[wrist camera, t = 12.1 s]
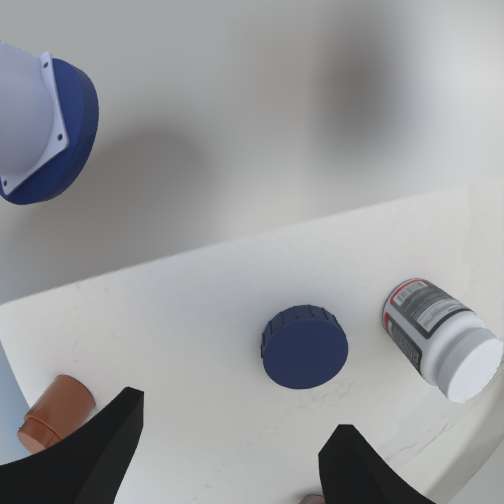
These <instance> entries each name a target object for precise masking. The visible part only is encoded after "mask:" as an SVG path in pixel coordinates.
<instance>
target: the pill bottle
mask: <svg viewBox="0 0 504 504" xmlns="http://www.w3.org/2000/svg"><path fill="white" fill-rule="evenodd" d="M383 324H384V328H385V330H386V332H387V333H388V334H389V336H390V337H391V338H392V339H393V341H394V342H395V343H396V344H397V346H398V347H399V348H400V349H401V351H402V352H403V353H404V354H405V356H406V357H407V358H408V359H409V361H410V362H411V363H412V365H413V366H414V367H415V368H416V370H417V371H418V372H419V374H420V375H421V376H422V377H423V379H424V380H425V381H426V382H428V383H429V384H431V385H434V386H438V388H439V389H440V391H441V392H442V393H443V394H444V395H445V396H446V398H447V399H448V400H449V401H450V402H452V403H461V402H464V401H466V400H468V399H470V398H472V397H473V396H475V395H476V394H477V393H478V392H480V391H481V390H482V389H483V388H484V387H485V386H486V385H487V384H488V382H489V381H490V380H491V378H492V377H493V376H494V374H495V372H496V371H497V369H498V367H499V365H500V362H501V359H502V355H503V344H502V342H501V340H500V339H498V338H497V337H496V336H495V335H494V334H493V333H492V332H491V331H490V330H488V329H486V328H485V325H484V322H483V320H482V319H481V318H480V317H479V316H478V315H477V314H476V313H475V312H474V311H472V310H471V309H469V308H468V307H466V306H465V305H463V304H462V303H460V302H459V301H458V300H456V299H455V298H453V297H451V296H450V295H449V294H447V293H446V292H444V291H443V290H441V289H440V288H438V287H437V286H435V285H433V284H432V283H430V282H428V281H427V280H424V279H412V280H409V281H406V282H404V283H403V284H401V285H400V286H399V287H398V288H396V289H395V291H394V292H393V293H392V294H391V296H390V297H389V299H388V301H387V303H386V305H385V308H384V311H383Z"/></svg>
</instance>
